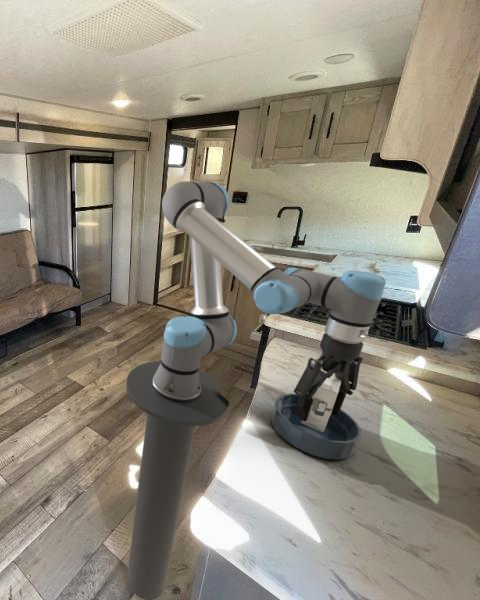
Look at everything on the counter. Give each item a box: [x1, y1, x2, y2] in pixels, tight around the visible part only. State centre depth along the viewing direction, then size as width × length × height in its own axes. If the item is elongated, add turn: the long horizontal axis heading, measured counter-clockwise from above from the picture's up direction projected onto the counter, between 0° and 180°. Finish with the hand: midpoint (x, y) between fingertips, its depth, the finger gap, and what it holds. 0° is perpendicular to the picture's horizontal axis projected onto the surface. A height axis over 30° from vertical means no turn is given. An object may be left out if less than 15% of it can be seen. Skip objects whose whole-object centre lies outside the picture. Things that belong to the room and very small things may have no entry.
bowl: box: [270, 392, 362, 461], centre depth 84 cm, size 18×18×6 cm
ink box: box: [302, 375, 341, 432], centre depth 81 cm, size 9×5×12 cm, turn 137°
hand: (316, 414), depth 83 cm, fingers closed on ink box, 9 cm apart
